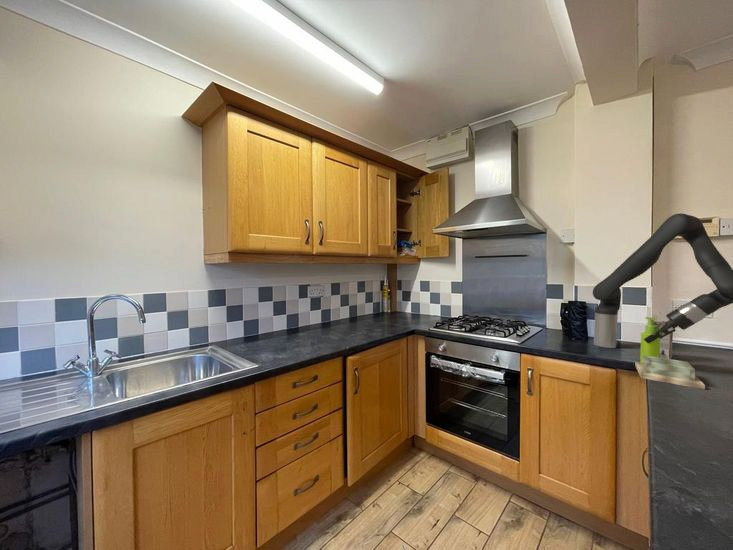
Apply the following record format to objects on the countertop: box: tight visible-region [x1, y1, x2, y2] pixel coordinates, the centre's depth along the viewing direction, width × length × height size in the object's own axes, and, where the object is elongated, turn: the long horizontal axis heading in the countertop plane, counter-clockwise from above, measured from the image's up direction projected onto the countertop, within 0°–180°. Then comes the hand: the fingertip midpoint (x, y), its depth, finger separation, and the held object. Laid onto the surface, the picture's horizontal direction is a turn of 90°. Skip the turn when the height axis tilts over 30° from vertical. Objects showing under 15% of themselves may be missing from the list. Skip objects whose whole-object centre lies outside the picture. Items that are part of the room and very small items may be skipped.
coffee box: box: [654, 321, 674, 359], centre depth 136 cm, size 9×6×16 cm
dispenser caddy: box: [634, 355, 706, 390], centre depth 112 cm, size 16×18×6 cm
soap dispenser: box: [639, 316, 660, 363], centre depth 126 cm, size 6×7×20 cm
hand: (644, 339), depth 126 cm, fingers closed on soap dispenser, 6 cm apart
